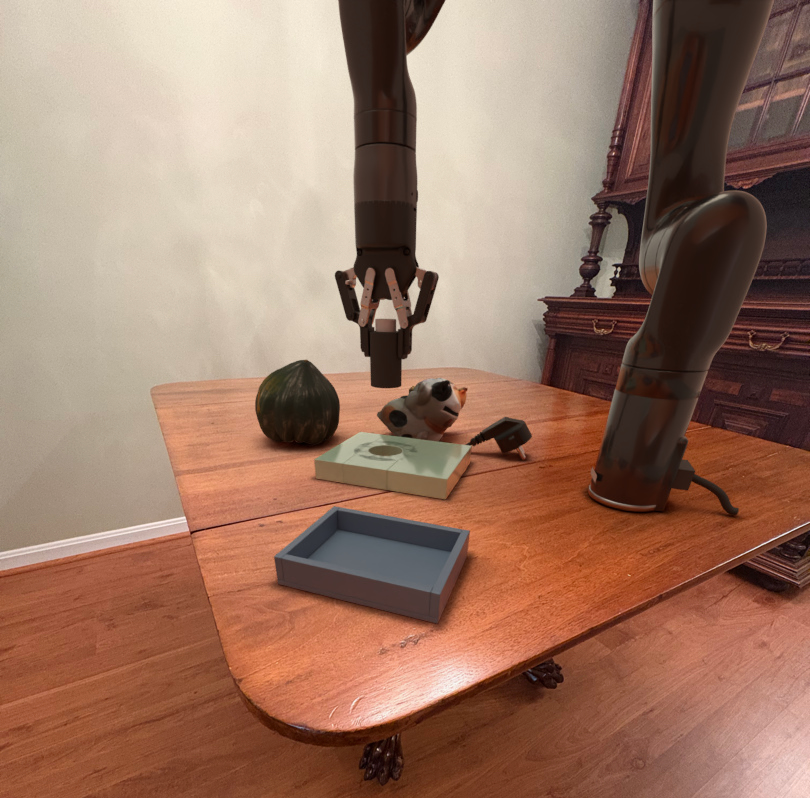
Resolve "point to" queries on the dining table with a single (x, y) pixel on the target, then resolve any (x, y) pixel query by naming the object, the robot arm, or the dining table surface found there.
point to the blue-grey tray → (376, 562)
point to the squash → (297, 405)
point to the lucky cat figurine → (424, 410)
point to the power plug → (505, 435)
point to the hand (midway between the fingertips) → (386, 356)
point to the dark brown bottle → (385, 355)
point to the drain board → (395, 464)
